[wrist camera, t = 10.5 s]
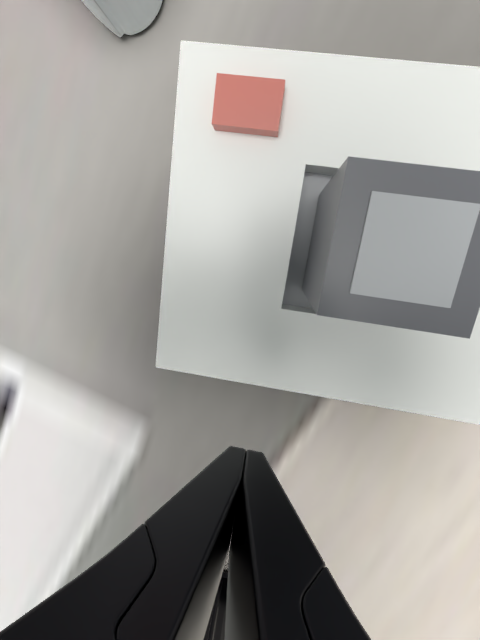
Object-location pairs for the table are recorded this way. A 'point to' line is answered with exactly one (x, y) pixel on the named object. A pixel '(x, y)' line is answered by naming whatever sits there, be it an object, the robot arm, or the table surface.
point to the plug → (397, 247)
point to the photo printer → (124, 14)
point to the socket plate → (302, 221)
